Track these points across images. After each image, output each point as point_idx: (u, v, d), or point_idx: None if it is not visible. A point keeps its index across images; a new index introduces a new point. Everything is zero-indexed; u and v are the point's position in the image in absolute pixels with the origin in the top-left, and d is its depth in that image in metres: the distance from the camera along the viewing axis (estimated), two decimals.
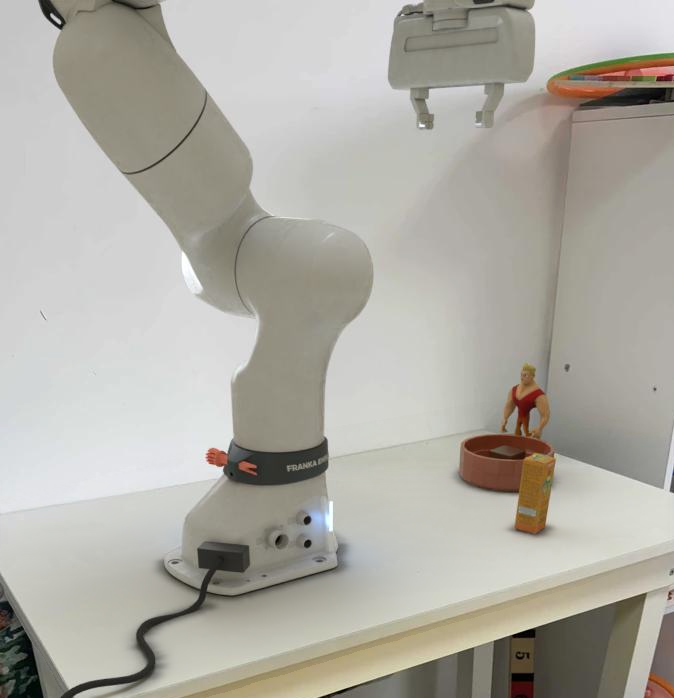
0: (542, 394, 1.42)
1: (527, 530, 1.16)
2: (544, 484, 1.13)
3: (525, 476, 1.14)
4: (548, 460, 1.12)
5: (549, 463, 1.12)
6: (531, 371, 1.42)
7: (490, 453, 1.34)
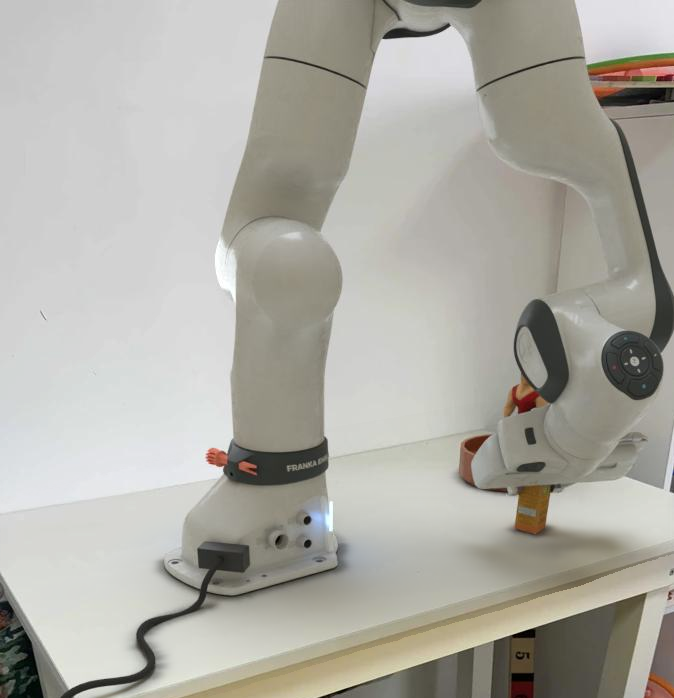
0: None
1: (527, 530, 1.16)
2: None
3: None
4: None
5: None
6: None
7: None
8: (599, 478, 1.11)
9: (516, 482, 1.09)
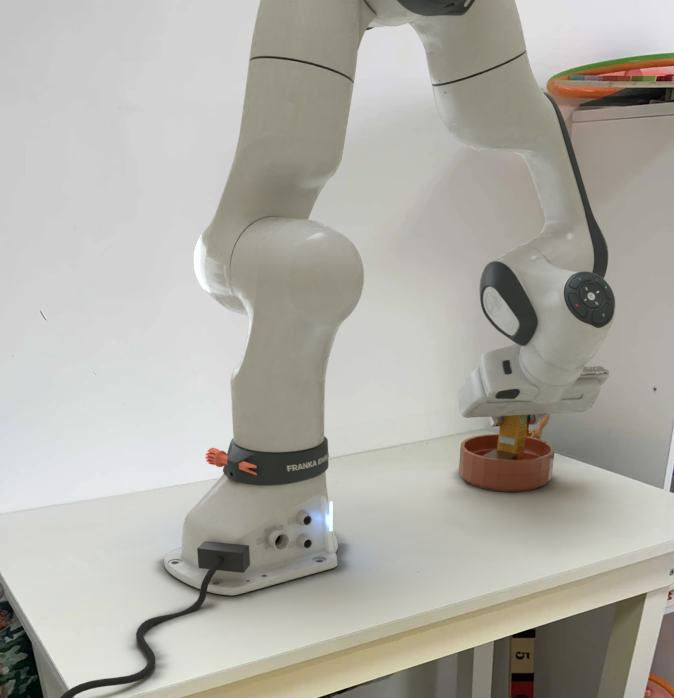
0: None
1: None
2: (522, 415, 1.31)
3: None
4: None
5: None
6: None
7: None
8: (568, 409, 1.28)
9: (496, 411, 1.26)
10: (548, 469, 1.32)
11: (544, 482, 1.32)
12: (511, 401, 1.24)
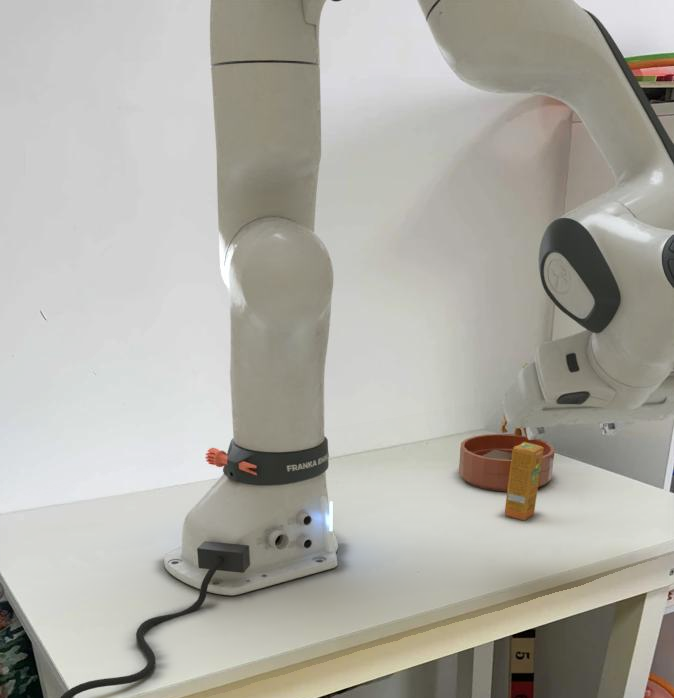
0: None
1: (516, 516, 1.21)
2: (533, 472, 1.18)
3: (515, 465, 1.18)
4: (536, 449, 1.17)
5: (537, 452, 1.17)
6: None
7: None
8: (645, 417, 0.99)
9: (553, 420, 0.97)
10: (548, 469, 1.32)
11: (544, 482, 1.32)
12: (574, 407, 0.95)
